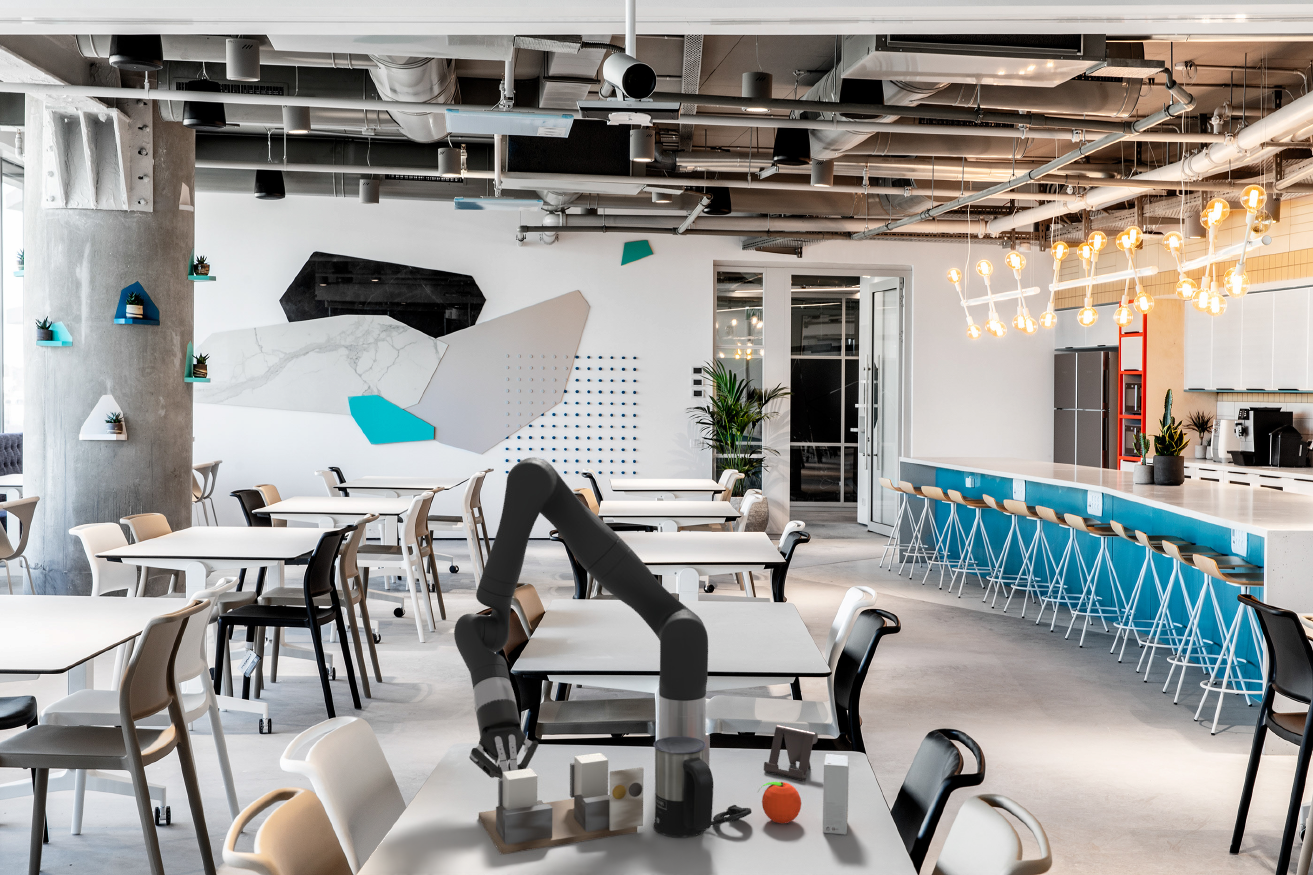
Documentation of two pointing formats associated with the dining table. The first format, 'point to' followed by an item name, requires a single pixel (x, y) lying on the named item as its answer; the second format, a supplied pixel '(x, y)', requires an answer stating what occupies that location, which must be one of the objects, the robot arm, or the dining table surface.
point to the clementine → (781, 802)
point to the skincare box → (835, 794)
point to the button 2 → (589, 776)
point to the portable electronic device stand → (791, 751)
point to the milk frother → (685, 789)
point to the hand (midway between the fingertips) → (513, 796)
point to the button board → (570, 817)
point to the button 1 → (517, 789)
